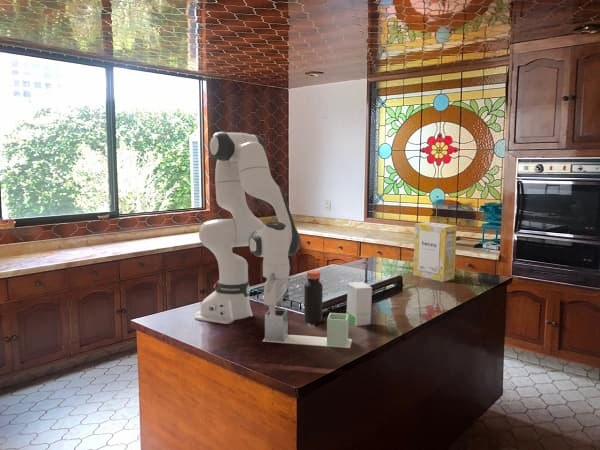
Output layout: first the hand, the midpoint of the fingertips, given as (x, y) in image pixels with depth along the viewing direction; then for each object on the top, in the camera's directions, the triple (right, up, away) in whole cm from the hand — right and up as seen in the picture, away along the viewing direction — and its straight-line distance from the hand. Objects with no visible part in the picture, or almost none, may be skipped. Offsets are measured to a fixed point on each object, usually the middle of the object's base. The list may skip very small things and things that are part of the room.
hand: (276, 310), depth 161 cm
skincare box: (+30, -9, +18) cm, 36 cm away
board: (+11, -11, -1) cm, 15 cm away
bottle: (+13, -9, +19) cm, 25 cm away
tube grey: (0, -10, +1) cm, 10 cm away
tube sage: (+21, -10, -3) cm, 23 cm away
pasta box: (+79, +1, +90) cm, 120 cm away
